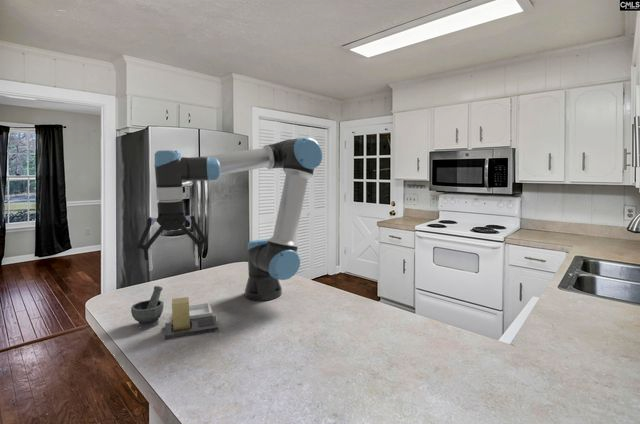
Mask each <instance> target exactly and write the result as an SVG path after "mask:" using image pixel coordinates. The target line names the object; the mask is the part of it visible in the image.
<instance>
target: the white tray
mask: <svg viewBox="0 0 640 424" xmlns="http://www.w3.org/2000/svg"><path fill="white" fill-rule="evenodd" d="M189 314H190V319H196V318H203V317H209V316H213V310H212V307H211V303H210V302H209V301H207V302H201V303H194V304H189Z"/></svg>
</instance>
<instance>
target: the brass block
mask: <svg viewBox="0 0 640 424" xmlns="http://www.w3.org/2000/svg"><path fill="white" fill-rule="evenodd" d="M189 305H190V301H189V296H185V297H177V298H172V299H171V311H172V312H171V314H172V315H171V316H172V322H173V328H172V332H176V331H182V330H188V329H191V325H190V314H189Z"/></svg>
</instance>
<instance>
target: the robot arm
mask: <svg viewBox="0 0 640 424" xmlns="http://www.w3.org/2000/svg"><path fill="white" fill-rule="evenodd" d="M322 160H323V151H322V148H321V146H320V145H319V142H317V140H315V139H313V138H312V137H304V136H302V137H299V138H291V139H285V140H282V141H278V142H276V143H270V144H264V145H263V146H262V148H261V147H260V148H254V149H248V150H246V149H245V150H241V151H233V152H225V153H218V154H209V155H204V156H198V157H197V156H196V157H187V156H182V154H181V152H180V151H179V150H171V149H170V150H165V149H164V150H157V151H155V153H154V164H153V165H154V173H155V175H154V176H155V188H156V189H155V190H156V191H155V192H156V200H157V201H158V202H157V204H156V205H157V217H151V216H148V217H147V220H146V227H145V228H144V229H143V230H144V231H143V232H142V235H141V236H140V240H139V241H138V244H137V246H136V248H137V249H138V250H139V249H140V250H143V254H144V255H143V256H144V257H143V258H144V260H145V261H148V267H149V268H148V270H149V272H151V271H153V267H154V266H153V256H152V253H153V252H152V248H150V247H151V246H153V244H154V242H155V241H156V240H157V239H158V238H159V236H160V235H161V234H162V233H163V231H166V232H170V231H179V230H181V231H182V232H183V233H184V234H186V236H187V237H188V238H190V239H191V240H192V241H193V243H195V244H194V257H195V258H194V259H195V260H194V261H195V266H196V267H199V266H200V264H199V256H201V255H202V253H203V251H202V245H203V244H206V243H207V242H208V241H207V239H206V237H205V234H204V233H203V232H202V230H201V228H200V227H199V225H198V223H197V222H196V218H195V215H194V214H191V215H185V208H184V207H185V206H184V201H183V200H184V195H183V194H184V192H183V191H184V190H183V182H191V181H192V182H201V181H202V182H204V181H205V182H206V181H208V182H210V181H217V180H218V179H219V177H220V176H222V175H228V174H233V173H239V172H246V171H252V170H257V169H258V170H259V169H263V168H266V169H268V170H271V169H272V170H273V169H282V170H283V172H284V173H285V178H284V183H283V187H282V192H281V197H280V201H279V204H278V205H279V206H278V210H277V216H276V220H275V225H274V230H273V235H272V237H270V238H262V239H254V240H253V239H252V240H251V241H249V242H248V243H247V263H248V264H247V265H248V269H247V271H248V279H247V282H246V285H245V289H244V297H245V298H246V299H249V300H250V301H269V300H274V299H277V298H279V297H280V296H281V295H282V294H283V293H282V291H283V289H282V285H281V283H280V281H286V280H290V279H291V278H293V277H294V276H295V275H296V274H297V273H298V272H299V269H300V266H301V258H300V256H299V254H298V253H297V252H298V248H299V245H298V243H297V241H296V238H297V233H298V229H299V224H300V218H301V215H302V210H303V204H304V199H305V194H306V190H307V185H308V181H309V179H310V178H311V179H312V177H314V172H315V171H314V170H315V169H316V168H318V166H320V164H321V163H322ZM186 221H188V222H189V223H191V224H192V226H193V228H194V229H195V231H196V233H197V234H198V236H199V238H200V239H199V238H197V236H196V235H194V234H193V232H192V231H190V230H189V228H187V227H186V226H185V225H184V224H185V222H186ZM156 222H157V224H159V227H158V228H157V230H156V231H155V232H154V233H153V235H151V237H150V239H149V240H148V241H147V242H146V244H144V242H145V241H146V238H147V236H148V234H149V231H150V229H151V227H152V226H153V225H155V223H156Z"/></svg>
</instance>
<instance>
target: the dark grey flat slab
mask: <svg viewBox="0 0 640 424" xmlns="http://www.w3.org/2000/svg"><path fill="white" fill-rule="evenodd" d="M190 326H191V328H190V329H188V330H182V331H176V332H173V321H172V322H171V321H168V322H165V326H164V340H170V339H175V338H183V337H190V336H195V335H200V334H206V333H212V332H218V331H219V330H220V329H219V324H218V321H217V317H216V315H212V316H209V317H203V318H196V319H190Z"/></svg>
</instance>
